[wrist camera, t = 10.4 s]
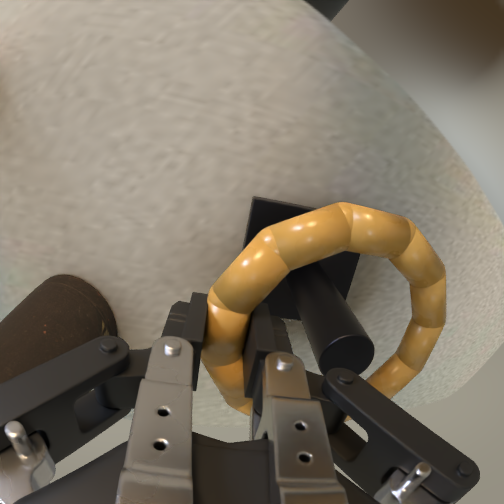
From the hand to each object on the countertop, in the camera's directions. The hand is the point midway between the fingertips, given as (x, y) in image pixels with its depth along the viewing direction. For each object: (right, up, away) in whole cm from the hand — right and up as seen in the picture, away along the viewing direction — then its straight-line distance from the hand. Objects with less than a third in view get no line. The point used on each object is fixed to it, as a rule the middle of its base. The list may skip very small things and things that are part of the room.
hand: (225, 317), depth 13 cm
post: (+4, +2, +9) cm, 10 cm away
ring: (+5, -1, 0) cm, 5 cm away
